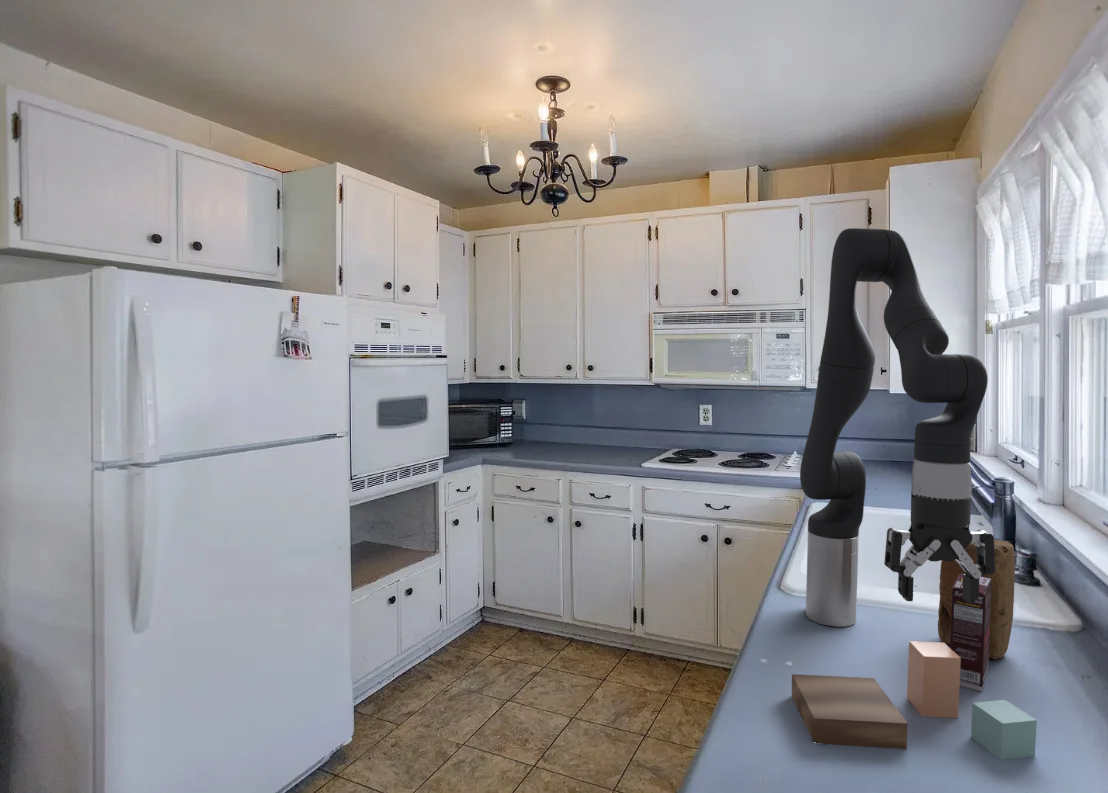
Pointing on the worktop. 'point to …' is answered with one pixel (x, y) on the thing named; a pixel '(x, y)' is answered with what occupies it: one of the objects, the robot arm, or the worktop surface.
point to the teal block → (1003, 729)
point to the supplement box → (971, 633)
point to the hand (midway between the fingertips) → (937, 600)
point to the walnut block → (848, 712)
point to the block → (999, 596)
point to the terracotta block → (933, 679)
